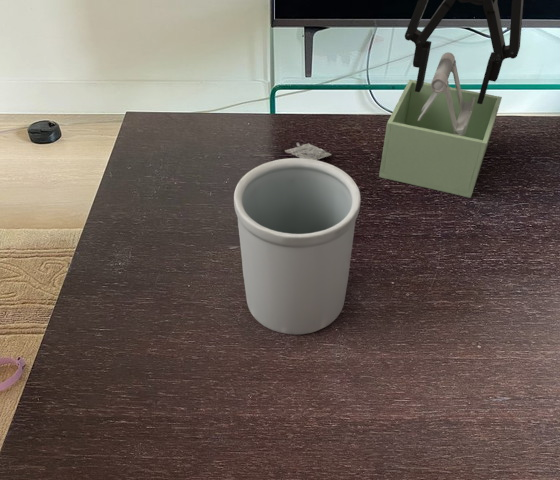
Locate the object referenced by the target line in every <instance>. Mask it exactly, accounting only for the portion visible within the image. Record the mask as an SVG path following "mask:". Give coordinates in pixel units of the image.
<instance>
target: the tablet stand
mask: <svg viewBox="0 0 560 480" xmlns="http://www.w3.org/2000/svg"><path fill="white" fill-rule="evenodd" d="M451 73H452V76H453V80H454V86H455V88H456V91H457V96H458V101H459V106H460V114H459V117H458V120H456V117H455V112H454V107H453V102H452V98H451V93H450V88H449V87H450V85H449V78H450V75H451ZM430 83H431V89H432V91H433V93H432V95H431V96H430V98H429V99H428V100H427V102H426V103H425V105H424V106H423V108H422V110H421V111H422V114H421V115H420V116H419V118H418V121H420V120H421V118H422V117H423V116H424V114H425V113H426V111H427V110H428V109H429V107H430V106H431V104H432V103H433V101H434V100H435V99H436V97H437V96H438V94H439V93H445V95H446V99H447V103H448V108H449V113H450V117H451V122H452V127H453V131H454V134H455V135H460V136H463V135H465V133H466V131H467V127H468V124H469V120H470V117H471V113H472V110H473V107H474V102H475V97H473V98H472V101H471V102H467V103H465V102H464V99H463V97H462V92H461V89H462V87H461V83H460V76H459V72H458V68H457V61H456V58H455V55H454V54H453V53H452V52H447V51H446V52H445V53H443V54H442V55H441V57H440V59H439V62H438V65H437V67H436V70H435V72H434V74H433V78H432V80H431V82H430Z"/></svg>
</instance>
